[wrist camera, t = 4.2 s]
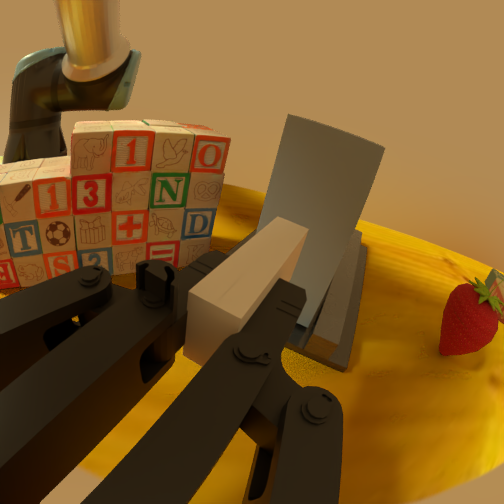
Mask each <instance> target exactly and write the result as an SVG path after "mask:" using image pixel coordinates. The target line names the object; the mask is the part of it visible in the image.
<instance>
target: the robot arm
mask: <svg viewBox="0 0 504 504" xmlns="http://www.w3.org/2000/svg"><path fill="white" fill-rule="evenodd" d="M54 5H55V10H56V14H57V19H58V23H59V27H60V31H61V35H62V38H63V42H64V46H65V47H55V48H51V49H44V50H40V51H37V52H34V53H31V54H29V55H27V56H25V57H24V58H22V59H21V60H20V61H19V63H18V64H17V66H16V69H15V74H14V78H13V81H12V84H13V86H12V95H11V106H10V126H9V127H10V128H9V136H8V140H7V144H6V148H5V152H4V157H3V162H2V164H8V163H16V162H20V161H26V160H33V159H42V158H45V159H46V158H53V157H62V156H67V148H66V144H65V140H64V137H63V133H62V129H61V112H64V111H86V110H102V111H109V110H121V109H123V108H125V107H126V106H127V104H128V102H129V99H130V96H131V93H132V90H133V86H134V83H135V79H136V75H137V72H138V68H139V64H140V59H141V52H140V51H136V50H130V44H129V41H128V40H127V38H126V37H124V36H123V35H122V34H120V13H119V11H120V0H54ZM308 230H309V229H308V228H305V227H303V226H300V225H298V224H296V223H293V222H291V221H288V220H286V219H283V218H281V217H276V218H275V219H274V220H273V221H271V222H270V223H269V224H268V225H267V226H265V227H264V228H263V229H262V230H261V231H259V232H258V233H257V234H256V235H255V236H253V237H252V238H251V239H250V240H249V241H247V242H246V243H245V244H244V245H243V246H241V247H240V248H239V249H238V250H237V251H235V252H234V253H233V254H232V255H231V256H228V255H226V254H224V253H222V252H220V251H218V250H215V251H211V252H207V253H204V254H203V255H201V256H200V257H198V258H197V259H196V260H195V261H193V262H192V263H190V264H189V265H188V267H187V266H186V267H185V268H183V269H182V270H181V271H179V272H178V270H177V268H176V267H174V266H173V265H172V264H171V263H168V262H165V261H163V260H155V259H150V260H143V261H141V262H138V263H136V287H137V288H136V289H134V290H131V289H127V288H124V287H121V286H118V285H115V284H112V281H111V275H110V273H109V271H108V270H106V269H105V268H103V267H100V266H97V265H89V266H84V267H81V268H78V269H75V270H73V271H70V272H67V273H65V274H62V275H59V276H57V277H54V278H51V279H49V280H46V281H44V282H41V283H39V284H36V285H34V286H31V287H29V288H26V289H24V290H21V291H19V292H16V293H14V294H11V295H9V296H7V297H4V298H2V299H0V504H40V502H41V501H42V500H43V499H44V498H45V497H46V496H47V495H48V494H49V493H50V492H51V491H52V490H53V489H54V488H55V487H56V486H57V485H58V484H59V483H60V482H61V481H62V480H63V479H64V478H65V477H66V476H67V475H68V474H69V473H70V472H71V471H72V470H73V469H74V468H75V467H76V466H77V465H78V464H79V463H80V462H81V461H82V460H83V459H84V458H85V457H86V456H87V455H88V454H89V453H90V452H91V451H92V450H93V449H94V448H95V447H96V446H97V445H98V444H99V443H100V442H101V441H102V440H103V438H104V437H105V436H106V435H107V434H108V433H109V432H110V431H111V430H112V429H113V428H114V427H115V426H116V425H117V424H118V423H119V422H120V421H121V420H122V419H123V418H124V417H125V416H126V415H127V413H128V412H129V411H130V410H131V409H132V408H133V407H134V406H135V405H136V404H137V403H138V402H139V401H140V400H141V399H142V398H143V397H144V396H145V394H146V393H147V392H148V391H149V390H150V389H151V388H152V387H153V386H154V385H155V384H156V383H157V382H158V381H159V380H160V378H161V377H162V376H163V375H164V374H165V373H166V372H167V371H168V370H169V369H170V368H171V367H172V365H173V363H174V361H175V353H176V352H177V351H178V350H179V349H180V348H181V347H182V346H183V345H184V347H183V355H184V356H186V357H187V358H189V359H191V360H192V361H194V362H196V363H197V364H199V365H201V366H202V368H201V369H200V371H199V372H198V373H197V374H196V375H195V377H194V378H193V379H192V380H191V381H190V383H189V384H188V385H187V386H186V387H185V389H184V390H183V391H182V392H181V393H180V394H179V396H178V397H177V398H176V399H175V400H174V402H173V403H172V404H171V405H170V406H169V407H168V409H167V410H166V411H165V412H164V413H163V414H162V415H161V417H160V418H159V419H158V420H157V421H156V422H155V424H154V425H153V426H152V427H151V428H150V429H149V430H148V431H147V433H146V434H145V435H144V436H143V437H142V438H141V439H140V440H139V442H138V443H137V444H136V445H135V446H134V447H133V448H132V449H131V450H130V452H129V453H128V454H127V455H126V456H125V457H124V458H123V459H122V460H121V461H120V463H119V464H118V465H117V466H116V467H115V468H114V469H113V470H112V471H111V472H110V473H109V474H108V475H107V476H106V478H105V479H104V480H103V481H102V482H101V483H100V484H99V485H98V486H97V487H96V488H95V489H94V490H93V491H92V492H91V493H90V494H89V495H88V496H87V497H86V498H85V499H84V500H83V501H82V502H81V503H80V504H188V503H189V501H190V500H191V499H192V497H193V496H194V495H195V493H196V492H197V490H198V489H199V488H200V486H201V485H202V483H203V482H204V481H205V479H206V478H207V476H208V475H209V473H210V472H211V470H212V469H213V467H214V466H215V465H216V463H217V462H218V460H219V459H220V457H221V455H222V454H223V452H224V451H225V449H226V448H227V446H228V445H229V443H230V442H231V440H232V438H233V437H234V435H235V434H236V432H237V430H238V429H239V427H240V428H241V429H242V430H243V431H244V432H245V433H246V434H247V435H248V436H249V437H250V438H251V439H252V440H253V441H254V442H256V443H257V446H256V450H255V454H254V458H253V463H252V467H251V471H250V475H249V479H248V483H247V487H246V491H245V495H244V498H243V502H242V504H338V500H339V490H340V478H341V463H342V441H343V412H342V407H341V404H340V403H339V401H338V400H337V398H336V397H335V396H334V395H333V394H332V393H330V392H329V391H328V390H325V389H323V388H320V387H314V386H307V387H304V388H302V387H301V386H300V385H298V384H297V383H296V382H295V381H294V380H292V379H291V377H290V376H289V375H288V374H287V373H286V372H285V370H284V368H283V366H282V362H281V353H282V350H283V348H284V347H285V345H286V343H287V341H288V339H289V337H290V335H291V333H292V331H293V329H294V327H295V325H296V323H297V320H298V318H299V316H300V314H301V312H302V310H303V308H304V305H305V303H306V301H307V297H306V291H305V289H303V288H301V287H299V286H297V285H294V284H292V283H290V282H289V281H290V279H291V277H292V274H293V271H294V269H295V266H296V263H297V261H298V258H299V255H300V253H301V250H302V247H303V244H304V242H305V239H306V236H307V233H308ZM77 315H78V318H79V321H78V322H75V321H73V320H72V318H73V317H75V316H77Z"/></svg>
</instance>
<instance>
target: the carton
mask: <svg viewBox="0 0 504 504" xmlns="http://www.w3.org/2000/svg"><path fill="white" fill-rule="evenodd" d="M503 279H504V276H503V275H502V274H501V273H499V272H498V271H497V270H495V269H494V268H493V269H492V270H491V272H490V273H489V275H488V277H487V279H486V280H485V284H486V286H487V288H488V290H489V291H490V292H491V291H492V290H493V288H494V287H495V286H497V285H498V284H499V283H500V282H501V281H502V280H503ZM491 296H497V297H498V298H499V299H500V300H501V301H502V302H503V303H504V280H503V281H502V282H501V283H500V284H499V285H498V286H497V287H496V288H495V289H494V290H493V291H492V293H491V295H490V296H489V297H491ZM499 306H500V309H501V311H502V314H503V316H502V315H501V314H500V313H499V312H498V310H497V309H496V308H495V309H496V312H497V314H498V320H499V321H500V322H502V323H503V324H504V306H502V305H500V304H499Z"/></svg>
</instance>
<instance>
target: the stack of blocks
mask: <svg viewBox="0 0 504 504" xmlns="http://www.w3.org/2000/svg"><path fill="white" fill-rule="evenodd" d="M230 141H231V138H230V137H228V136H226V135H224V134H222V133H220V132H218V131H214V130H212V129H210V128H208V127H205V126H201V125H191V124H180V123H176V122H173V121H163V120H143V121H125V120H123V121H86V122H77V123H76V124H75V127H74V131H73V132H72V137H71V156H62V157H53V158H46V159H45V158H42V159H33V160H26V161H20V162H16V163H8V164H2V165H0V289H6V288H14V287H19V286H21V287H29V286H34V285H36V284H39V283H41V282H44V281H46V280H49V279H51V278H54V277H57V276H59V275H62V274H65V273H67V272H70V271H73V270H75V269H78V268H81V267H84V266H89V265H97V266H100V267H103V268H105V269H106V270H108V271H109V273H110V275H111V276H112V275H119V274H127V273H134V272H136V263H138V262H141V261H143V260H150V259H155V260H163V261H165V262H168V263H171V264H172V265H173V266H174V267H185V266H188V265H189V264H190V263H192V262H193V261H195V260H196V259H197V258H198V257H200V256H201V255H203V254H204V253H207V252H209V248H210V243H211V235H212V230H213V225H214V220H215V215H216V211H217V206H218V204H219V199H220V194H221V190H222V185H223V179H224V173H223V171H224V168H225V163H226V159H227V155H228V150H229V146H230Z"/></svg>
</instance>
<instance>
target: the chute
mask: <svg viewBox="0 0 504 504" xmlns="http://www.w3.org/2000/svg"><path fill="white" fill-rule="evenodd" d="M256 231H257V229H256V230H254V231H253V232H252V233H251V234H249V235H248V236H247V237H246V238H245V239H243V240H242V241H241V242H240V243H238V244H237V245H236V246H235V247H233V248H232V249H231V250H230V251H229V252H227V253H226V255H228V256H231V255H232V254H233V253H234V252H235V251H237V250H238V249H239V248H240V247H241V246H243V245H244V244H245V243H246V242H247V241H249V240H250V239H251V238H252V237H253V236H255V234H256ZM361 236H362V232H360V231H358V230H355V229H354V232H353V234H352V236H351V239H350V241H349V243H348V246H347V248H346V250H345V252H344V254H343V257H342V259H341V261H340V263H339V265H338V268H337V270H336V272H335V274H334V276H333V278H332V280H331V282H330V284H329V287H328V289H327V291H326V293H325V295H324V297H323V299H322V301H321V303H320V305H319V307H318V309H317V311H316V312H315V314H314V316H313V318H312V320H311V322H310V324H309V326H308V328H307V327H305V326H303V325H300V324H298V323H296V325H295V327H294V329H293V331H292V333H291V335H290V337H289V339H288V341H287V343H286V345H285V347H286V348H289V349H291V350H293V351H295V352H297V353H299V354H302V355H304V356H306V357H308V358H310V359H313V360H315V361H317V362H320V363H322V364H324V365H326V366H329V367H331V368H334V369H336V370H338V371H341V372H344V371H345V370H346V368H347V365H348V361H349V357H350V352H351V348H352V343H353V338H354V333H355V328H356V323H357V317H358V311H359V305H360V299H361V293H362V286H363V279H364V271H365V263H366V254H367V247H364V246H362V245H360V243H361Z"/></svg>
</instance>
